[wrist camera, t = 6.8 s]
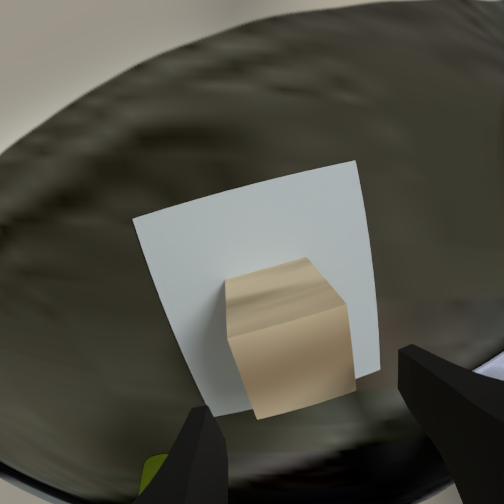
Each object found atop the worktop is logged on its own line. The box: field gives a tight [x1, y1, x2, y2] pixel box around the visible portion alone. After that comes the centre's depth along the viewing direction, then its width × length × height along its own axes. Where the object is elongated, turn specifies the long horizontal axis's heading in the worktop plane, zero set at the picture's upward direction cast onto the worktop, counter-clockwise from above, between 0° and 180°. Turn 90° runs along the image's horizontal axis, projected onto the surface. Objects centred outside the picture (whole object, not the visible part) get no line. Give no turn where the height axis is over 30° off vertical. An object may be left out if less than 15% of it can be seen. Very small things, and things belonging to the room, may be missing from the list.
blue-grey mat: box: [133, 161, 380, 417], centre depth 18 cm, size 14×12×1 cm
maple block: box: [225, 257, 356, 420], centre depth 15 cm, size 4×4×6 cm
